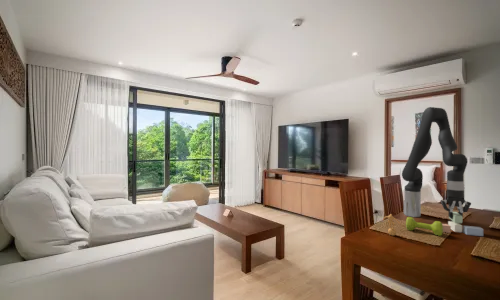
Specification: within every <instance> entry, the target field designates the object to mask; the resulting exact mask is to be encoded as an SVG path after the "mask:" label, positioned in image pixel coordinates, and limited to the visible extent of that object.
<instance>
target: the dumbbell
mask: <svg viewBox="0 0 500 300" xmlns="http://www.w3.org/2000/svg"><path fill="white" fill-rule="evenodd" d="M442 224H443V223H442V222H441V221H439V220H435V221H433V222H432V223H431V224H430V223H425V222H417V221H416V220H415V217H411V216H406V220H405V228H406V230H407V231H409V232H410V231H414V229H416V228H418V229H424V230H429V231H432V233H433V234H434V235H435V236H437V235H438V237H442V236H443V233H444V232H443V225H442Z"/></svg>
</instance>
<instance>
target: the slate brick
mask: <svg viewBox="0 0 500 300" xmlns="http://www.w3.org/2000/svg"><path fill="white" fill-rule="evenodd" d="M462 233H463V234H465V235H467V236H476V237H484V228H482V227H481V226H473V225H471V226H470V225H462Z"/></svg>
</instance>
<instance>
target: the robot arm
mask: <svg viewBox="0 0 500 300" xmlns="http://www.w3.org/2000/svg"><path fill="white" fill-rule="evenodd" d="M447 113H448V112H447V111H446V109H445V108H442V107H434V106H433V107H432V106H429V107H426V108H425V110H424V111H423V113H422V115H421V118H420V119H421V120H420V124H419V127H418V131H417V134H416V137H415V140H414V142H413V145H412V148H411V151H410V154H409V157H408V159H407V161H406V163H405V166H404V167H403V169H402V171H401V177H402V179H403V180H404V181H406V182H408V183H407V184H406V185H405V186H404V200H403V214H404V216H406V217H412V218H420V217H421V216H422V215H421V214H422V213H421V211H422V207H421V206H422V205H421V204H422V203H421V201H422V200H421V198H422V197H421V196H422V195H421V194H422V191H421V190H422V188H423V179H424V178H423V177H424V176H423V172H422V170H421V169H420V168H418V166H419V165H420V164H421V162H422V160H424V159H425V157H426V156H427V155H428V153H429V152H430V150H431V147H432V145H433V144H432V143H433V142H432V141H433V139H432V136H431V128H432V127H431V126H432V125H433V123H436V124H437V126H438V130H439V131H438V135H437V137H438V139H437V140H438V143H439V145H440V148H441V152H442V153H441V154H442V162H443V164H444V165H445V166H447V167H453V169H451V170H448V171H447V173H446V198H445V199H443V200H442V199H440V203H441V206H442V207H443V209H444V210H445V211H446V212H448V218H449V217H450V218H451V219H453V212H454V211H453V210H454V209H455V207H456V208H457V213H459V214H460V215H461V216H464V213H467V212H468V211H469V209H470V207H471V205H472V202H470V201H468V200H466V199H465V182H464V181H465V180H464V174H465V171H466V169H467V166H468V158H467V157H466V155H465V154H462V153H453V152H455V151H456V150H457V149H458V145H457V142H456V140H455V139H454V136H453V133H452V130H451V126H450V121H449V117H448V114H447ZM447 203H448V206H447ZM463 205H464V206H463ZM450 218H449V219H450ZM451 219H450V220H451Z"/></svg>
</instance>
